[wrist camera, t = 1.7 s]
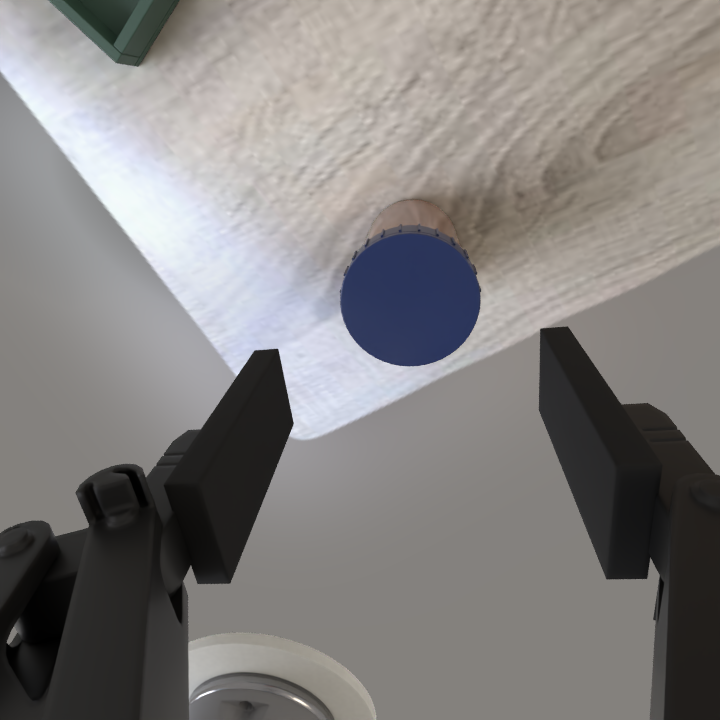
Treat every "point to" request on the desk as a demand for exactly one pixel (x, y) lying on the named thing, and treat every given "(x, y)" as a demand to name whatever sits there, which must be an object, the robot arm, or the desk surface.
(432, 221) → the jam jar
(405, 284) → the jar lid
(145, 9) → the tray
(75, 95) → the desk surface
